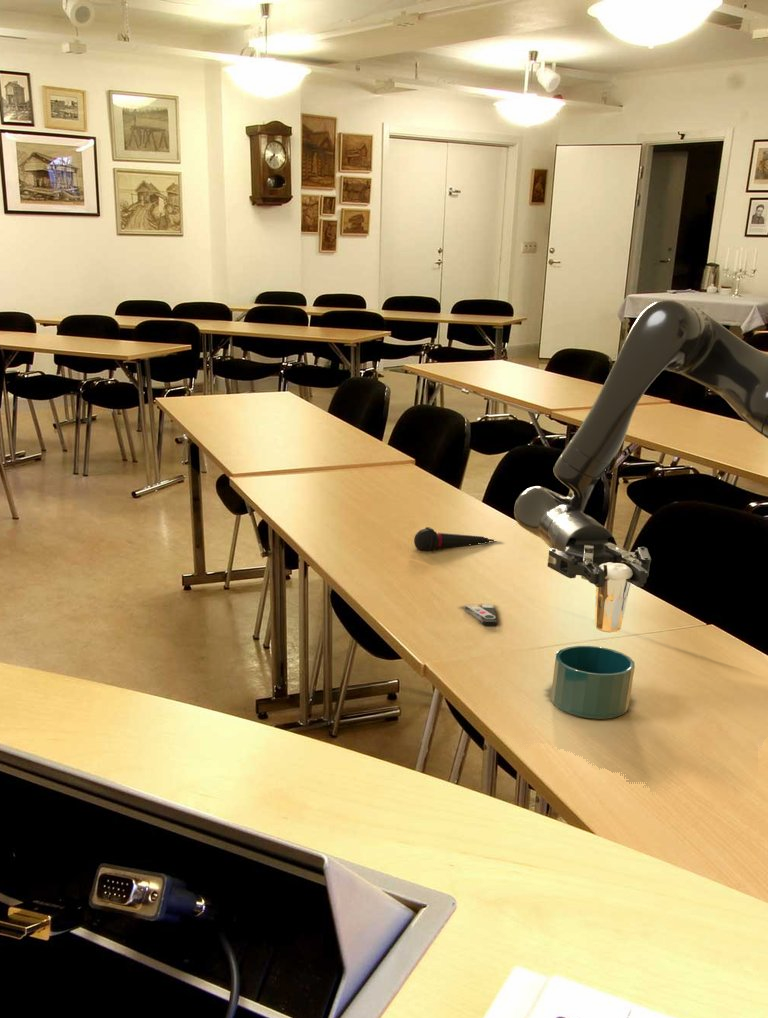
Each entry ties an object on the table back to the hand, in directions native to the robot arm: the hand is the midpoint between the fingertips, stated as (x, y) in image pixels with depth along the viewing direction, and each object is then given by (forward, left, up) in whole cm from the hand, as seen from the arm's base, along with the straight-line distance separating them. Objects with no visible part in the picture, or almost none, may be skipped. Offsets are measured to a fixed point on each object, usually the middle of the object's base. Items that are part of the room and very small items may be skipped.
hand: (621, 579), depth 118 cm
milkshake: (-2, -2, -8) cm, 9 cm away
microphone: (-41, -66, -19) cm, 80 cm away
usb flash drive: (-14, -35, -19) cm, 42 cm away
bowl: (-1, -3, -19) cm, 19 cm away
